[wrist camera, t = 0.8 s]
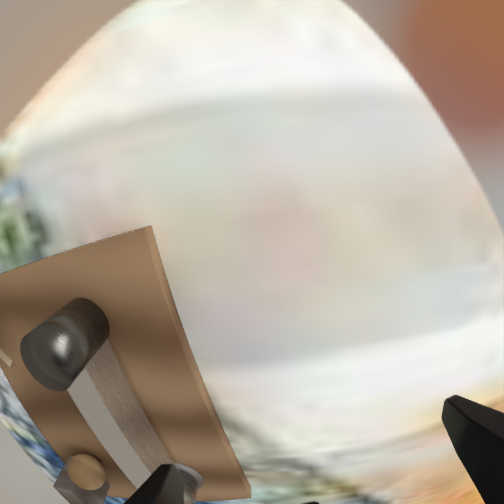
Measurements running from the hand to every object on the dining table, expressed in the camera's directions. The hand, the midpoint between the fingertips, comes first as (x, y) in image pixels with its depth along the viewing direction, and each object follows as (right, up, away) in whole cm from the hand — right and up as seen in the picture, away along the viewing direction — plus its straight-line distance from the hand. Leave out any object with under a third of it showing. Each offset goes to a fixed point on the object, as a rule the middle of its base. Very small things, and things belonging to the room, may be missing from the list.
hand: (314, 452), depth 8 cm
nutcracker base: (-12, -5, +10) cm, 17 cm away
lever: (-9, -5, +9) cm, 13 cm away
